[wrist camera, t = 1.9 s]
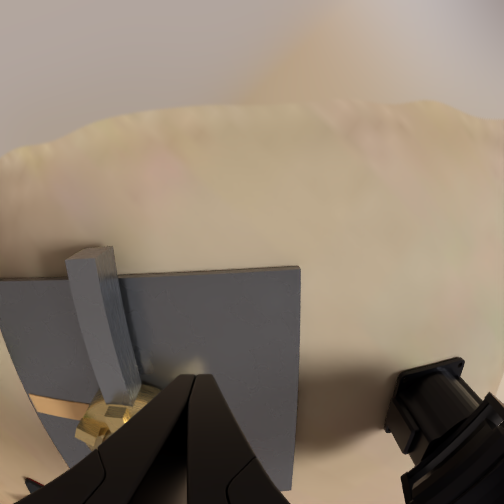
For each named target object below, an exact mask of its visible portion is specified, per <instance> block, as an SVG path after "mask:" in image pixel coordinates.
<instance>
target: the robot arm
mask: <svg viewBox="0 0 504 504" xmlns="http://www.w3.org/2000/svg"><path fill="white" fill-rule="evenodd" d="M464 363H465V361H464V360H463V359H462V358H461V357H460V358H456V359H453V360H449V361H446V362H442V363H438V364H434V365H431V366H427V367H423V368H418V369H414V370H410V371H406V372H403V373H401V374H400V375H399V376H398V379H397V383H396V387H395V391H394V395H393V398H392V400H391V403H390V406H389V410H388V413H387V417H386V420H385V421H386V423H385V426H384V430H385V432H386V433H392V434H393V436H394V438H395V440H396V442H397V444H398V446H399V448H400V450H401V451H402V453H403V454H405V455H406V454H409V455H410V457H411V459H412V461H413V463H414V464H415V467H414V468H412V469H411V470H410V471H409V472H406V473H405V474H403V475H402V476H401V482H402V488H403V493H404V498H405V503H406V504H504V404H503V403H502V402H501V401H499V400H498V399H497V398H496V397H495V396H494V395H493V394H492V393H490V392H489V393H488V394H487V395H486V396H485V399H484V400H483V401H482V400H481V399H480V398H479V396H478V395H477V394H476V393H475V392H474V391H473V390H472V389H471V388H470V387H469V386H468V385H467V383H466V382H465V381H464V380H463V379H462V378H461V377H460V376H461V373H462V370H463V367H464ZM404 378H405V379H404ZM502 421H503V422H502ZM501 422H502V423H501ZM500 423H501V424H500ZM499 424H500V425H499ZM498 425H499V426H498ZM97 449H98V450H97ZM97 449H94V450H93V451H92V452H91V453H89V454H88V455H87V456H86V457H85V458H83V459H82V460H81V461H80V462H78V463H77V464H76V465H74V466H73V467H72V468H71V469H69V470H68V471H66V472H65V473H63V474H62V475H60V476H59V477H57V478H56V479H54V480H53V481H51V482H49V483H48V484H46V485H45V486H43V487H41V488H40V489H38V490H36V491H35V492H33V493H31V494H30V495H28V496H26V497H24V498H23V499H21V500H19V501H18V502H16V503H14V504H290V503H289V502H288V500H287V499H286V498H285V497H284V496H283V494H282V493H281V492H280V491H279V490H278V488H277V487H276V486H275V484H274V483H273V481H272V480H271V479H270V477H269V476H268V474H267V473H266V471H265V470H264V468H263V466H262V464H261V463H260V461H259V459H258V458H257V457H256V455H255V453H254V451H253V449H252V448H251V446H250V444H249V442H248V441H247V439H246V437H245V435H244V433H243V432H242V430H241V428H240V426H239V424H238V422H237V421H236V419H235V417H234V415H233V413H232V411H231V409H230V407H229V405H228V404H227V402H226V400H225V398H224V396H223V394H222V392H221V390H220V388H219V386H218V384H217V382H216V380H215V378H214V376H213V375H212V374H197V375H194V374H180V375H178V376H177V377H176V378H175V379H174V380H173V381H172V382H171V383H170V384H168V385H167V386H166V387H165V388H164V389H163V390H162V391H161V392H160V393H158V394H157V395H156V396H155V397H154V398H153V399H152V400H151V401H150V402H148V403H147V404H146V405H145V406H144V407H143V408H142V409H141V410H139V411H138V412H137V413H136V414H135V415H134V416H133V417H132V418H130V419H129V420H128V421H127V422H126V423H125V424H124V425H122V426H121V427H120V428H119V429H118V430H117V431H115V432H114V433H113V434H112V435H111V436H110V437H109V438H107V439H106V440H105V441H104V442H103V443H101V444H100V445H99V446H98V447H97Z"/></svg>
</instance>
